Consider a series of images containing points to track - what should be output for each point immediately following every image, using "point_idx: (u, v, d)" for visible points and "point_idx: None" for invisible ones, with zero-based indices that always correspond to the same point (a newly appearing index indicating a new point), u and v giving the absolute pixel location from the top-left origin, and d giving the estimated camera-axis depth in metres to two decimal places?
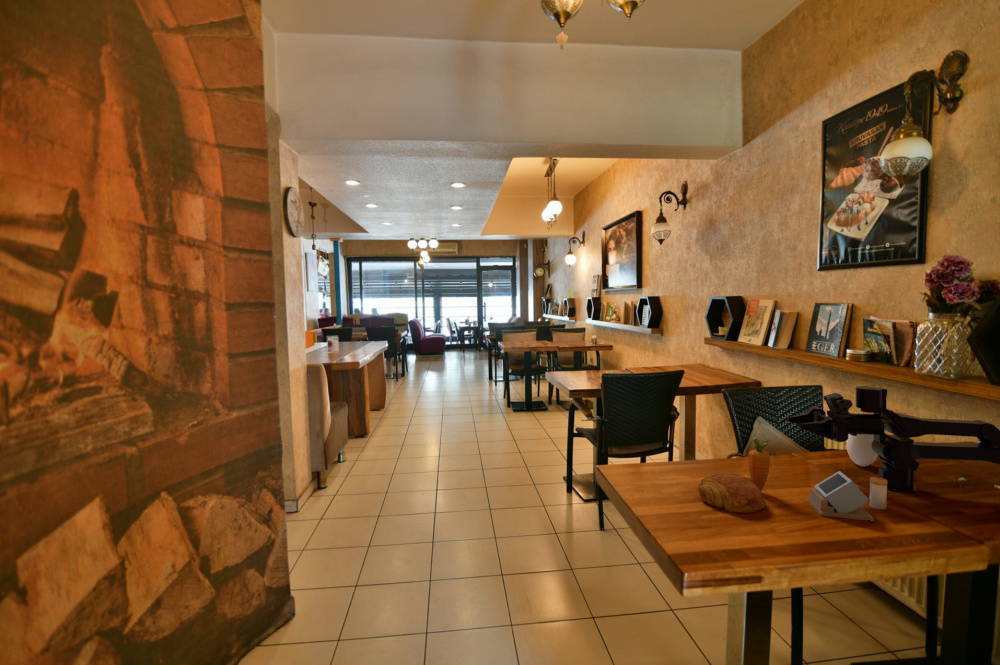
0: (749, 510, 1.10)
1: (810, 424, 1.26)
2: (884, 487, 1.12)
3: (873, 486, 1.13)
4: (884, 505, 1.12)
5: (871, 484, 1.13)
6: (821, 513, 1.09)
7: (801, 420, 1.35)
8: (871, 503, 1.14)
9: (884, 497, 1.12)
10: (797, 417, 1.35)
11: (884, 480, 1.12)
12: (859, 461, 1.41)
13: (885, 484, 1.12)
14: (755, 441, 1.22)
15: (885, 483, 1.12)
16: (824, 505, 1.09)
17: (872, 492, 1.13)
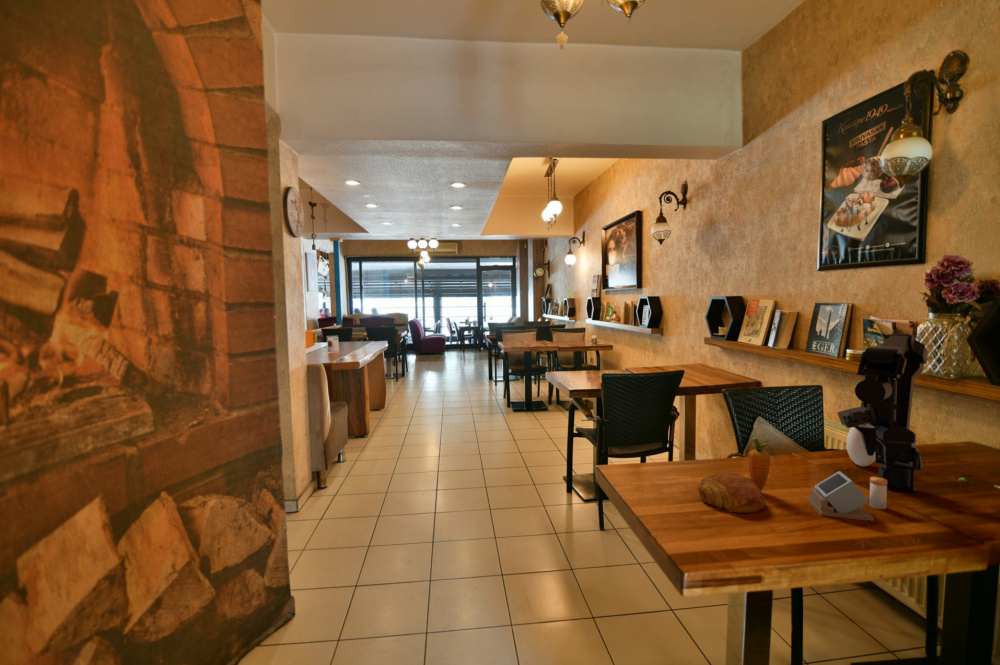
0: (749, 510, 1.10)
1: (886, 457, 1.08)
2: (884, 487, 1.12)
3: (873, 486, 1.13)
4: (884, 505, 1.12)
5: (871, 484, 1.13)
6: (821, 513, 1.09)
7: (871, 441, 1.17)
8: (871, 503, 1.14)
9: (884, 497, 1.12)
10: (867, 445, 1.17)
11: (884, 480, 1.12)
12: (859, 461, 1.41)
13: (885, 484, 1.12)
14: (755, 441, 1.22)
15: (885, 483, 1.12)
16: (824, 505, 1.09)
17: (872, 492, 1.13)
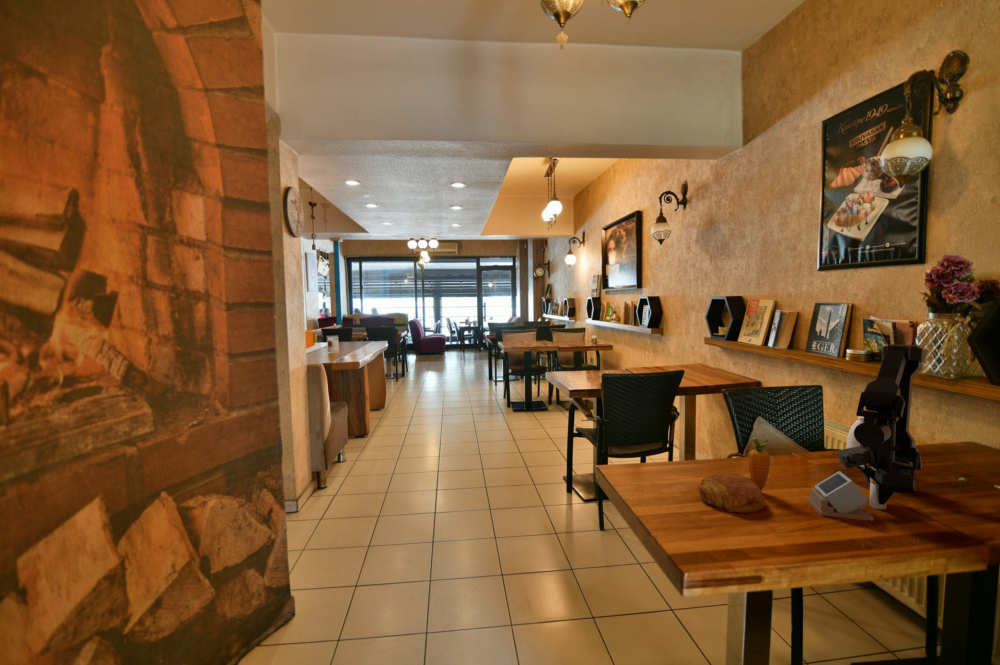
0: (749, 510, 1.10)
1: (879, 494, 1.11)
2: None
3: (873, 486, 1.13)
4: (884, 505, 1.12)
5: (871, 484, 1.13)
6: (821, 513, 1.09)
7: None
8: (871, 503, 1.14)
9: None
10: None
11: None
12: None
13: None
14: (755, 441, 1.22)
15: None
16: (824, 505, 1.09)
17: (872, 492, 1.13)
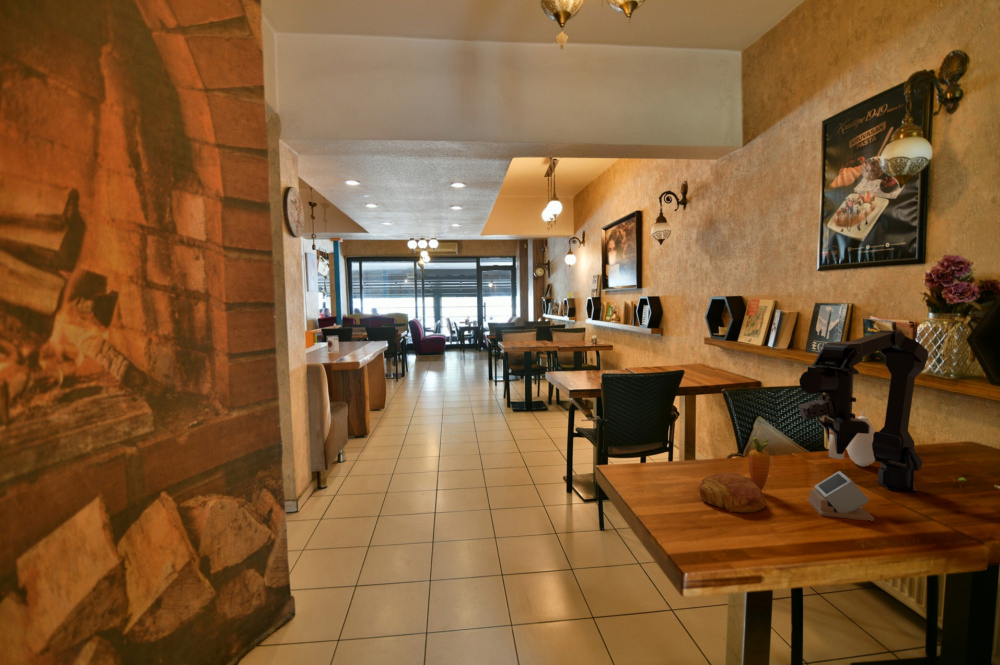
0: (749, 510, 1.10)
1: (837, 444, 1.15)
2: None
3: (832, 437, 1.17)
4: (842, 455, 1.16)
5: (830, 435, 1.17)
6: (821, 513, 1.09)
7: None
8: (830, 454, 1.17)
9: None
10: None
11: None
12: (859, 461, 1.41)
13: None
14: (755, 441, 1.22)
15: None
16: (824, 505, 1.09)
17: (831, 443, 1.17)
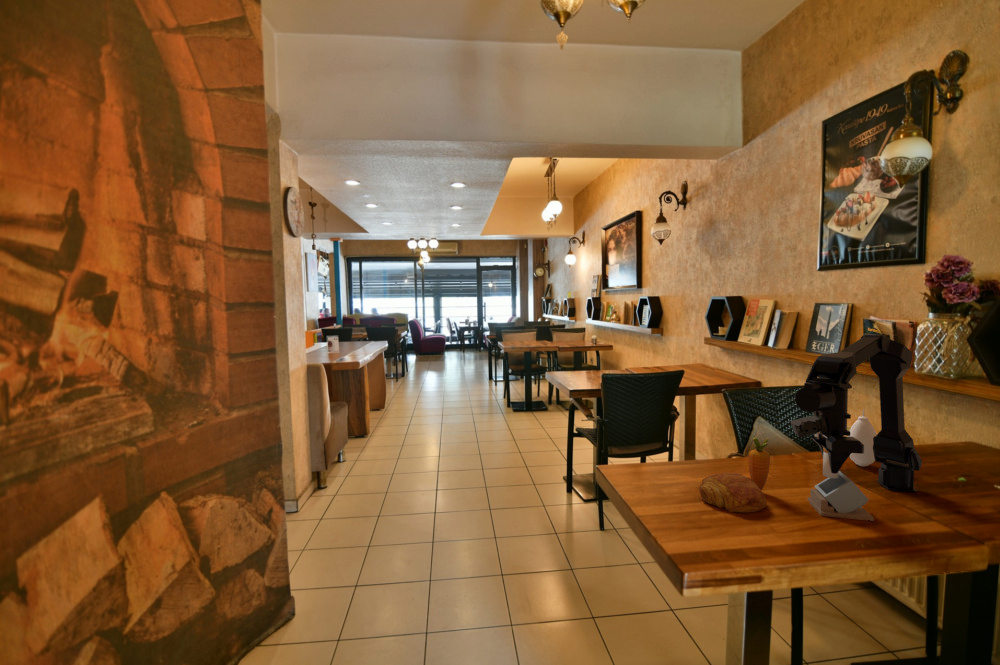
0: (750, 510, 1.10)
1: (831, 463, 1.09)
2: None
3: (826, 455, 1.11)
4: (836, 474, 1.10)
5: (824, 453, 1.12)
6: (821, 513, 1.09)
7: None
8: (824, 472, 1.12)
9: None
10: None
11: None
12: (859, 461, 1.41)
13: None
14: (755, 441, 1.22)
15: None
16: (824, 505, 1.09)
17: (825, 461, 1.12)
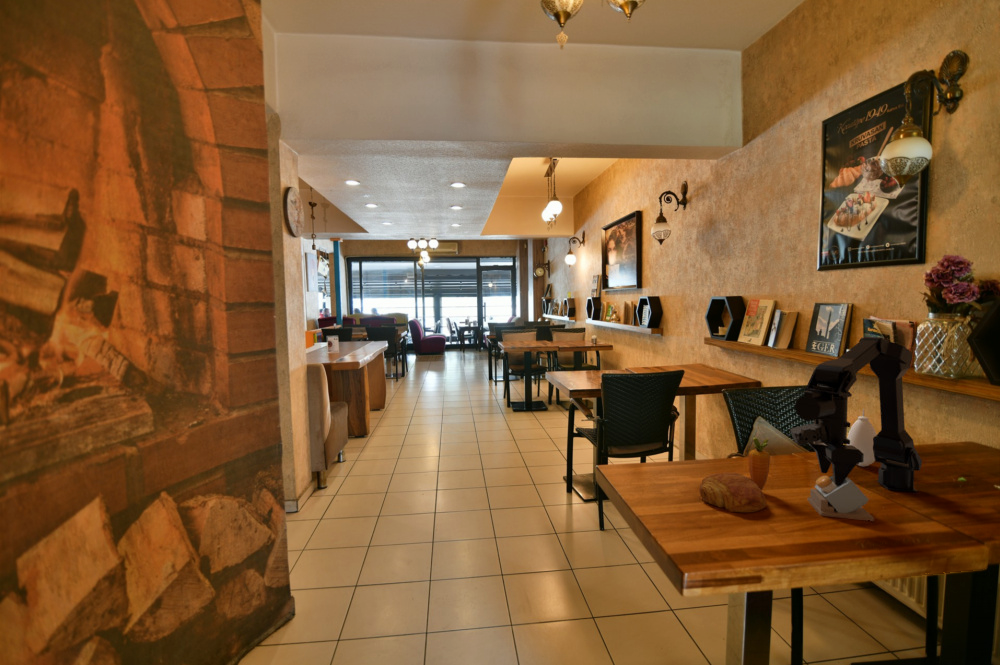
0: (750, 510, 1.10)
1: (835, 475, 1.07)
2: (831, 485, 1.11)
3: (823, 490, 1.12)
4: None
5: (821, 488, 1.12)
6: (821, 513, 1.09)
7: (825, 459, 1.16)
8: None
9: None
10: (821, 463, 1.16)
11: (826, 479, 1.11)
12: None
13: (829, 482, 1.11)
14: (755, 441, 1.22)
15: (828, 481, 1.11)
16: (824, 505, 1.09)
17: None
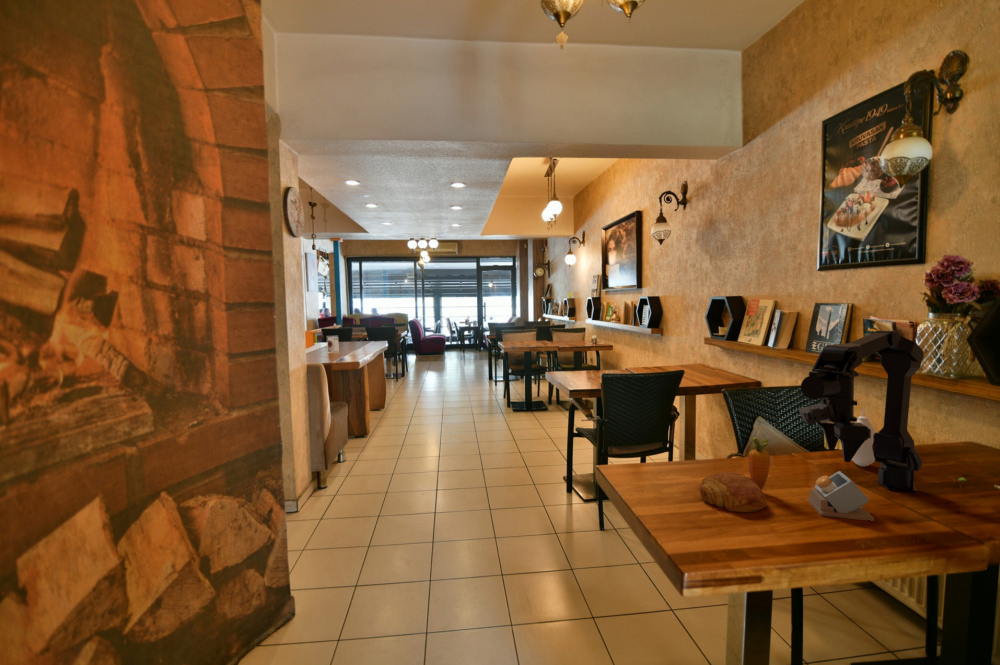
0: (750, 509, 1.10)
1: (844, 452, 1.11)
2: (831, 485, 1.11)
3: (823, 490, 1.12)
4: None
5: (821, 488, 1.12)
6: (821, 513, 1.09)
7: (832, 436, 1.20)
8: None
9: None
10: (828, 440, 1.20)
11: (826, 479, 1.11)
12: (859, 461, 1.41)
13: (829, 482, 1.11)
14: (755, 441, 1.22)
15: (828, 481, 1.11)
16: (824, 505, 1.09)
17: None
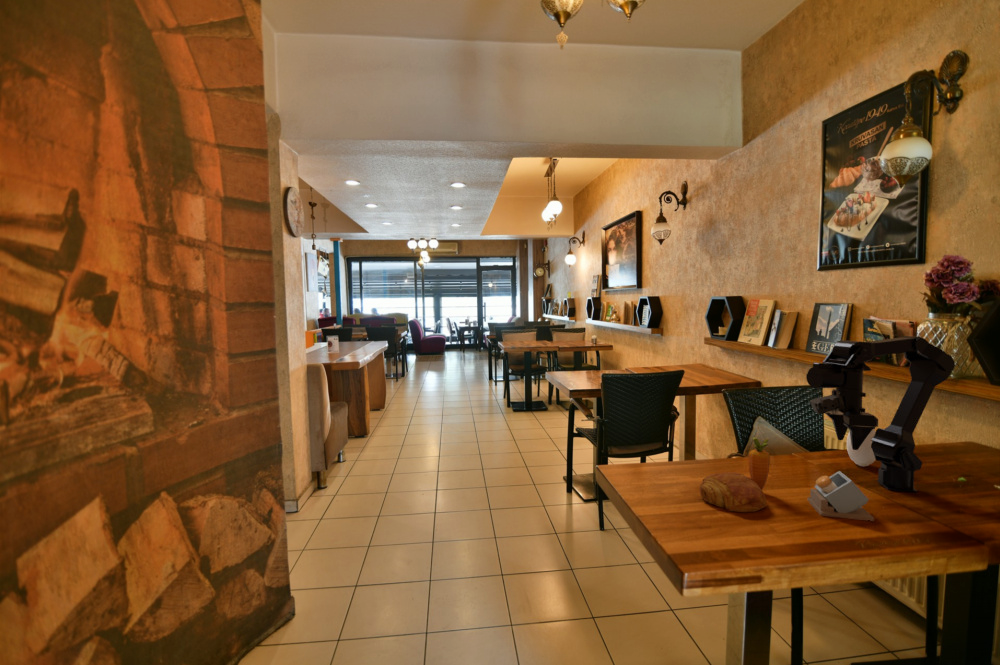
0: (750, 509, 1.10)
1: (853, 440, 1.18)
2: (831, 485, 1.11)
3: (823, 490, 1.12)
4: None
5: (821, 488, 1.12)
6: (821, 513, 1.09)
7: (841, 427, 1.28)
8: None
9: None
10: (838, 431, 1.28)
11: (826, 479, 1.11)
12: (859, 461, 1.41)
13: (829, 482, 1.11)
14: (755, 441, 1.22)
15: (828, 481, 1.11)
16: (824, 505, 1.09)
17: None
